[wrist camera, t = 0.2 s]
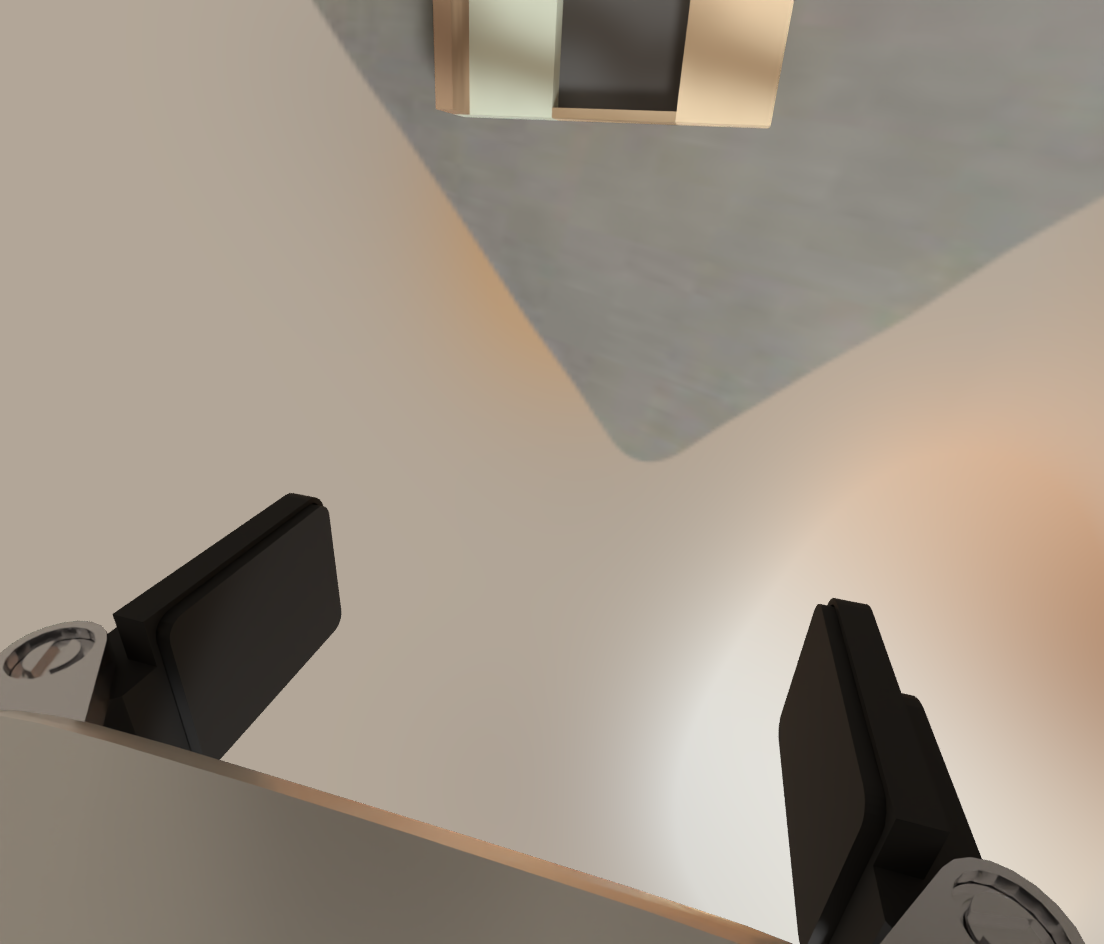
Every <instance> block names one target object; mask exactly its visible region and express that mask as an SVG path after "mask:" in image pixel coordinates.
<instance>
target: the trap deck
mask: <svg viewBox="0 0 1104 944" xmlns="http://www.w3.org/2000/svg"><path fill="white" fill-rule="evenodd" d="M793 3H794V0H433V24H434V59H435V94H436V109H438V110H441V111H445V112H448V113H452V114H455V115H459V116H462V117H479V118H506V119H533V120H559V121H586V122H612V123H639V124H666V125H692V126H719V127H746V128H769V127H770V125H771V120H772V115H773V109H774V104H775V99H776V93H777V88H778V83H779V77H780V72H781V67H782V61H783V56H784V51H785V45H786V40H787V35H788V29H789V24H790V19H791V13H792V8H793Z"/></svg>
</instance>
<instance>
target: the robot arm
mask: <svg viewBox="0 0 1104 944" xmlns="http://www.w3.org/2000/svg"><path fill="white" fill-rule="evenodd" d="M113 617H114V619H115V622H116V626H117V628H115V629H114V630H112V631H111V632H110V633H108V634H107V631H106V630H105V629H104V628H103V627H102V626H101V625H99V624H96V623H93V622H88V621H73V622H64V623H60V624H56V625H52V626H49V627H45V628H42V629H40V630H37V631H35V632H32V633H30V634H28V635H26V636H24V637H22V638H21V639H19V640H17V641H15V642H14V643H12V644H11V645H9V646H8V647H7V648H6V649H4V650H3V651H2V652H1V653H0V944H792V943H789V942H787V941H784V940H782V939H779V938H776V937H774V936H771V935H769V934H766V933H763V932H761V931H758V930H755V929H753V928H750V927H748V926H745V925H742V924H739V923H736V922H733V921H730V920H727V919H724V918H721V917H718V916H715V915H712V914H709V913H706V912H703V911H700V910H697V909H694V908H691V907H688V906H685V905H682V904H679V903H676V902H673V901H670V900H667V899H664V898H661V897H658V896H655V895H652V894H649V893H646V892H643V891H640V890H637V889H634V888H631V887H628V886H625V885H622V884H619V883H615V882H612V881H609V880H606V879H603V878H599V877H596V876H593V875H590V874H587V873H583V872H580V871H577V870H574V869H571V868H568V867H564V866H561V865H558V864H555V863H552V862H548V861H546V860H542V859H539V858H536V857H533V856H529V855H526V854H523V853H520V852H517V851H514V850H511V849H507V848H504V847H501V846H498V845H494V844H491V843H488V842H485V841H482V840H479V839H476V838H472V837H469V836H466V835H463V834H459V833H456V832H453V831H450V830H447V829H443V828H440V827H437V826H433V825H430V824H427V823H424V822H421V821H418V820H414V819H411V818H408V817H404V816H401V815H398V814H395V813H392V812H388V811H385V810H382V809H379V808H375V807H372V806H369V805H366V804H362V803H359V802H356V801H353V800H349V799H346V798H343V797H340V796H336V795H333V794H330V793H326V792H323V791H320V790H317V789H314V788H310V787H307V786H304V785H301V784H297V783H294V782H291V781H287V780H284V779H281V778H278V777H274V776H271V775H268V774H264V773H261V772H257V771H254V770H251V769H247V768H244V767H241V766H238V765H234V764H231V763H228V762H224V761H221V760H220V759H221V758H222V757H223V756H224V754H225V753H226V752H227V751H228V750H229V749H230V748H231V747H232V746H233V744H234V743H235V742H236V741H237V740H238V739H239V738H240V736H241V735H242V734H243V733H244V732H245V731H246V730H247V729H248V727H249V726H250V725H251V724H252V723H253V722H254V721H255V720H256V718H257V717H258V716H259V715H260V714H261V713H262V712H263V711H264V709H265V708H266V707H267V706H268V705H269V704H270V703H271V702H272V701H273V699H274V698H275V697H276V696H277V695H278V694H279V693H280V691H281V690H282V689H283V688H284V687H285V686H286V685H287V684H288V683H289V681H290V680H291V679H292V678H293V677H294V676H295V675H296V674H297V673H298V671H299V670H300V669H301V668H302V667H303V666H304V665H305V663H306V662H307V661H308V660H309V659H310V658H311V657H312V655H314V653H315V652H316V651H317V650H318V649H319V648H320V647H321V646H322V644H323V643H324V642H325V641H326V640H327V639H328V638H329V637H330V635H331V634H332V633H333V632H334V631H335V630H336V628H337V626H338V625H339V622H340V619H341V605H340V597H339V589H338V582H337V574H336V565H335V557H334V549H333V542H332V534H331V525H330V517H329V512H328V510H327V508H326V507H324V506H323V504H322V502H321V501H320V499H318V498H315V497H310V496H304V495H300V494H294V493H289V494H287V495H285V496H284V497H282V498H281V499H279V500H278V501H276V502H275V503H273V504H272V505H270V506H269V507H268V508H266V509H265V510H263V511H262V512H260V513H259V514H257V515H256V516H255V517H253V518H252V519H250V520H249V521H247V522H246V523H244V524H243V525H241V526H240V527H239V528H237V529H236V530H234V531H233V532H231V533H230V534H228V535H227V536H225V537H224V538H223V539H221V540H220V541H218V542H217V543H215V544H214V545H213V546H211V547H209V548H208V549H207V550H205V551H204V552H202V553H201V554H199V555H198V556H196V557H195V558H193V559H192V560H191V561H189V562H188V563H186V564H185V565H183V566H182V567H180V568H179V569H178V570H176V571H175V572H173V573H172V574H170V575H169V576H167V577H166V578H164V579H163V580H162V581H160V582H159V583H157V584H156V585H154V586H153V587H151V588H150V589H148V590H147V591H146V592H144V593H143V594H141V595H140V596H138V597H137V598H135V599H134V600H133V601H131V602H130V603H128V604H127V605H125V606H124V607H122V608H121V609H119V610H118V611H117V612H115V613H114V614H113ZM779 746H780V755H781V756H780V757H781V767H782V776H783V786H784V797H785V806H786V817H787V827H788V837H789V847H790V857H791V867H792V877H793V886H794V896H795V907H796V916H797V927H798V935H799V942H800V944H1085V943H1084V941H1083V939H1082V937H1081V936H1080V934H1079V932H1078V930H1077V928H1076V927H1075V926H1074V925H1073V923H1072V922H1071V921H1070V920H1069V918H1068V917H1067V916H1066V915H1065V914H1064V912H1063V911H1062V910H1061V909H1060V907H1059V906H1058V905H1057V904H1056V903H1055V902H1053V901H1052V900H1051V899H1050V898H1049V897H1048V896H1047V895H1046V894H1044V893H1043V892H1042V891H1041V890H1040V889H1039V888H1038V887H1037V886H1035V885H1034V884H1032V883H1031V882H1029V881H1028V880H1026V879H1025V878H1023V877H1022V876H1020V875H1019V874H1017V873H1016V872H1014V871H1012V870H1010V869H1008V868H1005V867H1003V866H1001V865H999V864H996V863H994V862H992V861H988V860H983V859H982V858H981V855H980V853H979V850H978V848H977V845H976V843H975V840H974V837H973V835H972V833H971V830H970V827H969V824H968V822H967V819H966V817H965V814H964V812H963V809H962V806H961V804H960V801H959V799H958V796H957V793H956V791H955V788H954V786H953V783H952V780H951V778H950V775H949V773H948V770H947V768H946V765H945V762H944V760H943V757H942V755H941V752H940V750H939V747H938V744H937V742H936V739H935V737H934V734H933V732H932V729H931V726H930V724H929V721H928V718H927V716H926V713H925V711H924V708H923V706H922V704H921V703H920V701H919V700H918V699H917V698H916V697H915V696H912V695H908V694H903V693H901V691H900V688H899V685H898V682H897V680H896V677H895V674H894V671H893V668H892V666H891V663H890V660H889V657H888V654H887V651H886V649H885V646H884V643H883V640H882V637H881V634H880V632H879V629H878V626H877V623H876V620H875V617H874V615H873V612H872V610H871V608H870V606H869V605H867V604H862V603H857V602H851V601H846V600H841V599H836V598H832V599H831V600H830V601H829V603H828V605H822V604H818V605H817V606H816V608H815V610H814V613H813V616H812V620H811V623H810V626H809V629H808V632H807V635H806V638H805V641H804V645H803V648H802V651H801V654H800V657H799V660H798V663H797V667H796V670H795V673H794V676H793V679H792V682H791V685H790V689H789V692H788V695H787V698H786V701H785V705H784V707H783V711H782V714H781V717H780V723H779Z"/></svg>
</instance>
